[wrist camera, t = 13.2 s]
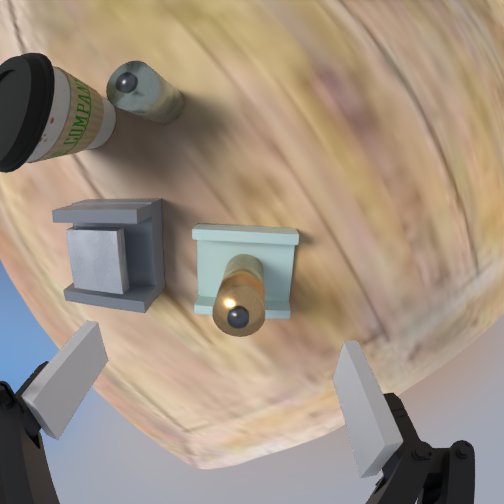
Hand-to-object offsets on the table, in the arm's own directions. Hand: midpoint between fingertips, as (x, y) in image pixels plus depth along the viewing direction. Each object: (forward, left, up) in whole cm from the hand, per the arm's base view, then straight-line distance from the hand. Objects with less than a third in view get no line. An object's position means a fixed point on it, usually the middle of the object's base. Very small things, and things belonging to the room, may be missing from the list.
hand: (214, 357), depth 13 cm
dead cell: (-16, -8, -17) cm, 24 cm away
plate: (-1, -13, -11) cm, 18 cm away
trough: (+1, +1, -17) cm, 17 cm away
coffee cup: (-15, -17, -17) cm, 28 cm away
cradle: (-1, -13, -17) cm, 21 cm away
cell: (+2, +1, -16) cm, 16 cm away
